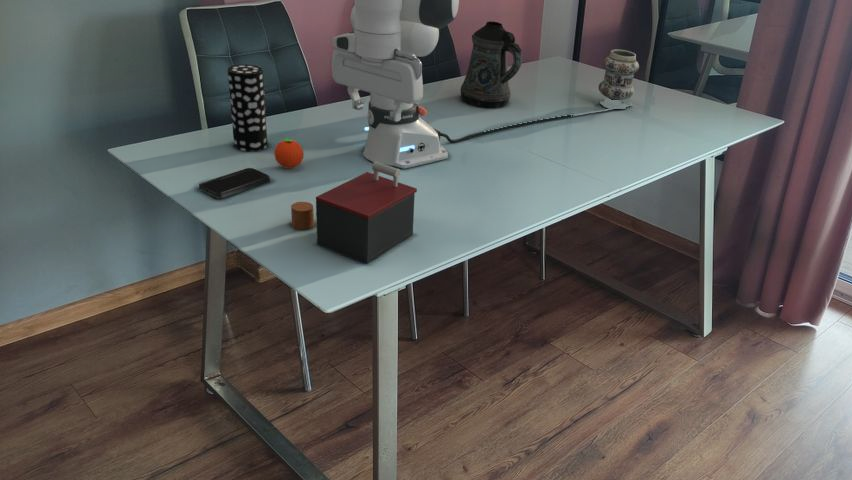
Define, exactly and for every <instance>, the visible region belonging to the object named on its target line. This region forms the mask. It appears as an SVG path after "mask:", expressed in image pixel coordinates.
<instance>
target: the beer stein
mask: <svg viewBox="0 0 852 480" xmlns="http://www.w3.org/2000/svg"><path fill="white" fill-rule="evenodd" d="M471 41H472V48H471V49H472V50H471V54H470V59H469V63H468V67H467V70H466V75H465V77H464V80H463V82H462V84H461V86H460V98H461V102H463V103H465V104H467V105H469V106H472V107H475V108H480V109H499V108H504V107H506V106H508V104H509V102H510V99H511V94H512V93H511V89H510V84H509V81H511V79H513V78H514V77H515V76H516V75H517V73H518V72H519V71H520V69H521V66H522V65H523V57H524V56H523V53H522V49H521V47H520V45H519V44H518V43H516V37H515V35H514V33H512V32H510V31H507V30H506V29H505V28H504V26H503V24H502V23H501V22H497V21H487V22H486V24H485V25H484V26H482V27H481V28H479V29H477V30H476V31H474V33H473V34H472V35H471ZM508 53H510V54H511V55H512V58H513V63H512V65H511V67H510V68H509V67H508V66H509V65H508V64H509V61H508V59H509V58H508ZM508 68H509V69H508Z"/></svg>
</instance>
